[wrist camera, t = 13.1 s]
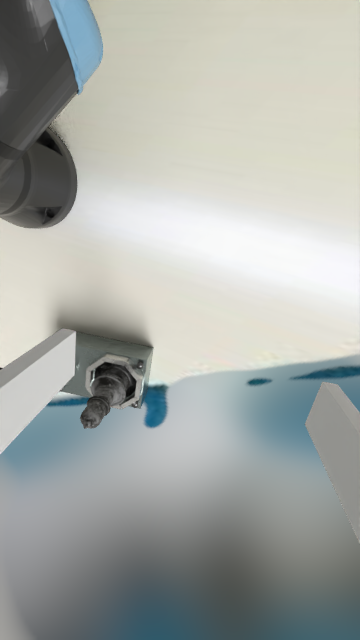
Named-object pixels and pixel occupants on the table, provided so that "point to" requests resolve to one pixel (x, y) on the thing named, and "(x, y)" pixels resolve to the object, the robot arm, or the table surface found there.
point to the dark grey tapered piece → (105, 395)
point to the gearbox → (105, 353)
